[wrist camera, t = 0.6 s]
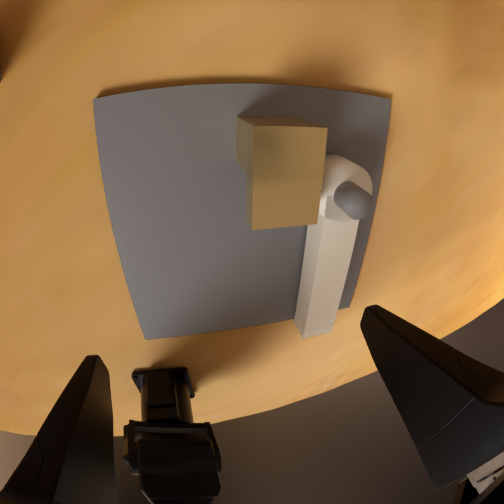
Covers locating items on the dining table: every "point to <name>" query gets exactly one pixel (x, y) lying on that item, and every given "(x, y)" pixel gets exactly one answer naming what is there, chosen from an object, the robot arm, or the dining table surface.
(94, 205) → the dining table surface
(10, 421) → the dining table surface
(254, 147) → the block
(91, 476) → the robot arm
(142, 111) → the board
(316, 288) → the link
